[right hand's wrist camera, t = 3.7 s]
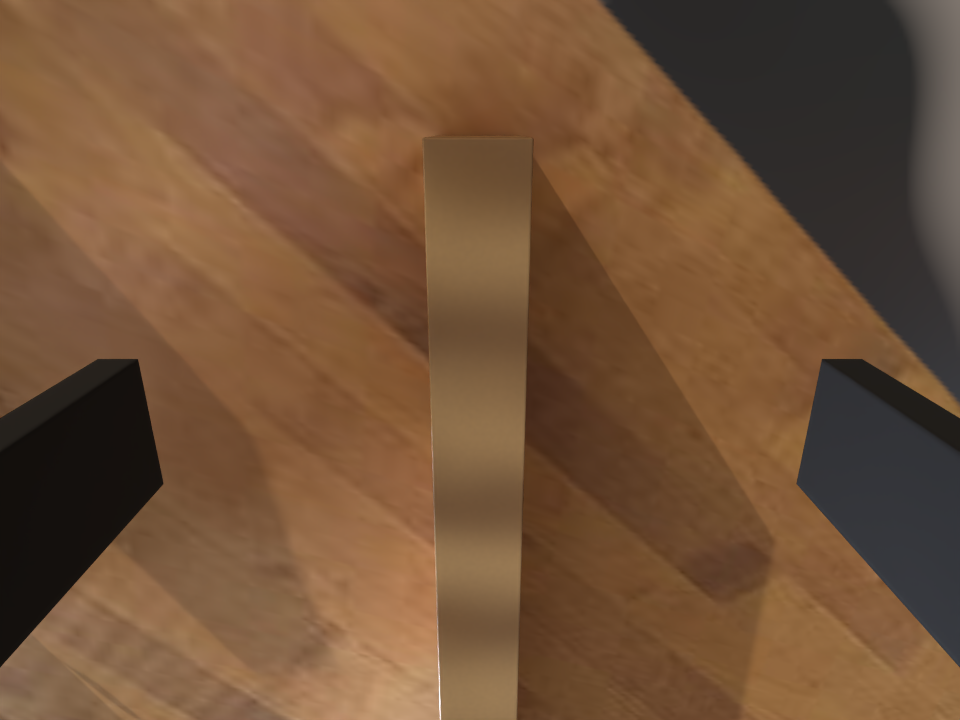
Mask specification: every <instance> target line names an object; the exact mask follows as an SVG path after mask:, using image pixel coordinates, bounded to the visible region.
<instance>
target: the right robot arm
mask: <svg viewBox="0 0 960 720" xmlns="http://www.w3.org/2000/svg"><path fill="white" fill-rule="evenodd" d="M162 485H163V479H162V474H161V469H160V465H159V460H158V455H157V450H156V445H155V440H154V435H153V430H152V426H151V421H150V416H149V411H148V406H147V401H146V396H145V391H144V387H143V382H142V377H141V372H140V367H139V362H138V359H97V360H96V361H94V362H92V363H91V364H89V365H87V366H86V367H84V368H83V369H81V370H79V371H78V372H76V373H74V374H73V375H71V376H69V377H68V378H66V379H64V380H63V381H61V382H59V383H58V384H56V385H54V386H53V387H51V388H49V389H48V390H46V391H45V392H43V393H41V394H40V395H38V396H36V397H35V398H33V399H31V400H30V401H28V402H26V403H25V404H23V405H21V406H20V407H18V408H16V409H15V410H13V411H11V412H10V413H8V414H7V415H5V416H3V417H2V418H0V667H1V666H2V665H3V664H4V663H5V661H6V660H7V659H8V658H9V657H10V656H11V655H12V654H13V652H14V651H15V650H16V649H17V648H18V647H19V646H20V645H21V643H22V642H23V641H24V640H25V639H26V638H27V637H28V636H29V634H30V633H31V632H32V631H33V630H34V629H35V628H36V627H37V625H38V624H39V623H40V622H41V621H42V620H43V619H44V618H45V616H46V615H47V614H48V613H49V612H50V611H51V610H52V609H53V607H54V606H55V605H56V604H57V603H58V602H59V601H60V600H61V598H62V597H63V596H64V595H65V594H66V593H67V592H68V591H69V589H70V588H71V587H72V586H73V585H74V584H75V583H76V582H77V580H78V579H79V578H80V577H81V576H82V575H83V574H84V573H85V571H86V570H87V569H88V568H89V567H90V566H91V565H92V564H93V562H94V561H95V560H96V559H97V558H98V557H99V556H100V555H101V553H102V552H103V551H104V550H105V549H106V548H107V547H108V546H109V544H110V543H111V542H112V541H113V540H114V539H115V538H116V537H117V535H118V534H119V533H120V532H121V531H122V530H123V529H124V528H125V526H126V525H127V524H128V523H129V522H130V521H131V520H132V519H133V517H134V516H135V515H136V514H137V513H138V512H139V511H140V510H141V508H142V507H143V506H144V505H145V504H146V503H147V502H148V501H149V500H150V498H151V497H152V496H153V495H154V494H155V493H156V492H157V491H158V489H159V488H160V487H161V486H162ZM797 485H798V486H799V487H800V488H801V489H802V491H803V492H804V493H805V494H806V495H807V496H808V497H809V498H810V500H811V501H812V502H813V503H814V504H815V505H816V506H817V507H818V508H819V510H820V511H821V512H822V513H823V514H824V515H825V516H826V517H827V519H828V520H829V521H830V522H831V523H832V524H833V525H834V526H835V528H836V529H837V530H838V531H839V532H840V533H841V534H842V535H843V537H844V538H845V539H846V540H847V541H848V542H849V543H850V544H851V546H852V547H853V548H854V549H855V550H856V551H857V552H858V553H859V555H860V556H861V557H862V558H863V559H864V560H865V561H866V562H867V564H868V565H869V566H870V567H871V568H872V569H873V570H874V571H875V573H876V574H877V575H878V576H879V577H880V578H881V579H882V580H883V582H884V583H885V584H886V585H887V586H888V587H889V588H890V589H891V591H892V592H893V593H894V594H895V595H896V596H897V597H898V598H899V600H900V601H901V602H902V603H903V604H904V605H905V606H906V607H907V609H908V610H909V611H910V612H911V613H912V614H913V615H914V616H915V618H916V619H917V620H918V621H919V622H920V623H921V624H922V625H923V627H924V628H925V629H926V630H927V631H928V632H929V633H930V634H931V636H932V637H933V638H934V639H935V640H936V641H937V642H938V643H939V645H940V646H941V647H942V648H943V649H944V650H945V651H946V652H947V654H948V655H949V656H950V657H951V658H952V659H953V660H954V661H955V663H956V664H957V665H958V666H959V667H960V418H958V417H957V416H955V415H953V414H952V413H950V412H949V411H947V410H945V409H944V408H942V407H940V406H939V405H937V404H935V403H934V402H932V401H930V400H929V399H927V398H925V397H924V396H922V395H920V394H919V393H917V392H915V391H914V390H912V389H911V388H909V387H907V386H906V385H904V384H902V383H901V382H899V381H897V380H896V379H894V378H892V377H891V376H889V375H887V374H886V373H884V372H882V371H881V370H879V369H877V368H876V367H874V366H873V365H871V364H869V363H868V362H866V361H864V360H863V359H822V362H821V367H820V372H819V377H818V382H817V387H816V391H815V396H814V401H813V406H812V411H811V416H810V421H809V426H808V430H807V435H806V440H805V445H804V450H803V455H802V460H801V465H800V469H799V474H798V479H797Z"/></svg>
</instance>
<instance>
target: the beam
mask: <svg viewBox="0 0 960 720" xmlns="http://www.w3.org/2000/svg"><path fill="white" fill-rule="evenodd" d="M422 141H423V174H424V207H425V240H426V273H427V306H428V339H429V372H430V405H431V438H432V470H433V503H434V536H435V569H436V602H437V635H438V668H439V701H440V720H517V701H518V666H519V630H520V595H521V559H522V524H523V488H524V453H525V417H526V382H527V346H528V311H529V276H530V240H531V205H532V169H533V138H530V137H524V136H432V137H426V138H423V139H422Z"/></svg>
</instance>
